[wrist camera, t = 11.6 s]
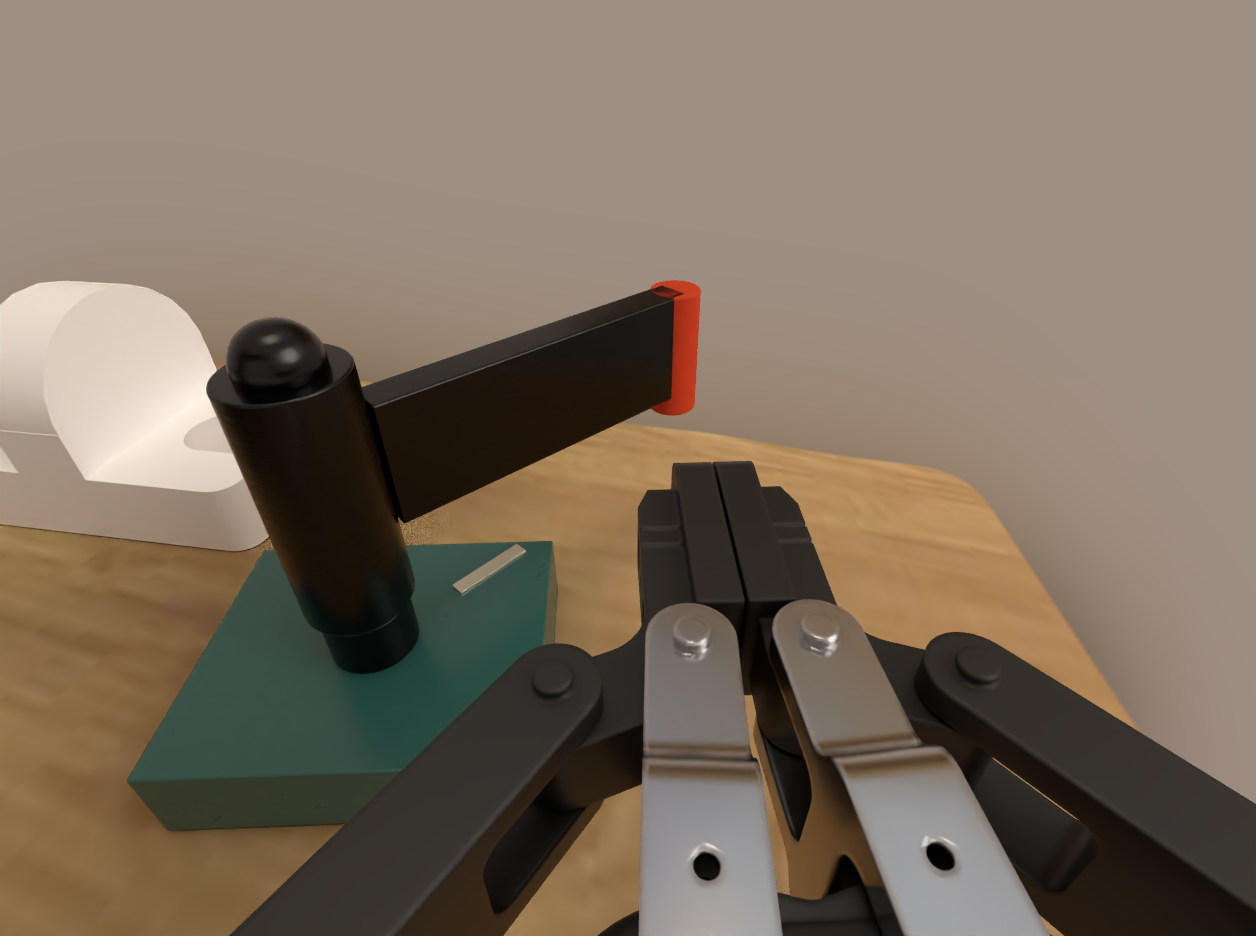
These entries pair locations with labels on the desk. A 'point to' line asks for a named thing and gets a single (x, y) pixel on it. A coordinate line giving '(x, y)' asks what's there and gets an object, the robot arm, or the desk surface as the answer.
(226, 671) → the stand
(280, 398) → the black l-shaped bar
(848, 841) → the robot arm
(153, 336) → the white slotted bracket
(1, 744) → the desk surface
